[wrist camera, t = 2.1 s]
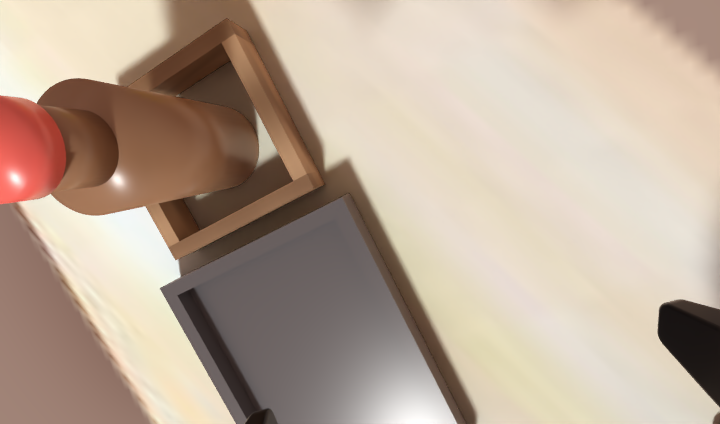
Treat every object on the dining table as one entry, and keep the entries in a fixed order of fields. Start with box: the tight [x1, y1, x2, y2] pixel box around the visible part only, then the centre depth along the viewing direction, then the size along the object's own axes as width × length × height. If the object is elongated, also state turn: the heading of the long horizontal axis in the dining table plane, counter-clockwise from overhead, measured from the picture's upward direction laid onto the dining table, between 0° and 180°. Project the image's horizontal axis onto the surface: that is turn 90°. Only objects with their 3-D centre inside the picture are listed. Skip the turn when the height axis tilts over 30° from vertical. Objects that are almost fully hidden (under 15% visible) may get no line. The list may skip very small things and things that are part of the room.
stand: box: [128, 18, 325, 260], centre depth 20 cm, size 9×9×2 cm
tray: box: [160, 193, 466, 424], centre depth 21 cm, size 16×12×2 cm
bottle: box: [0, 78, 259, 215], centre depth 15 cm, size 5×5×12 cm
